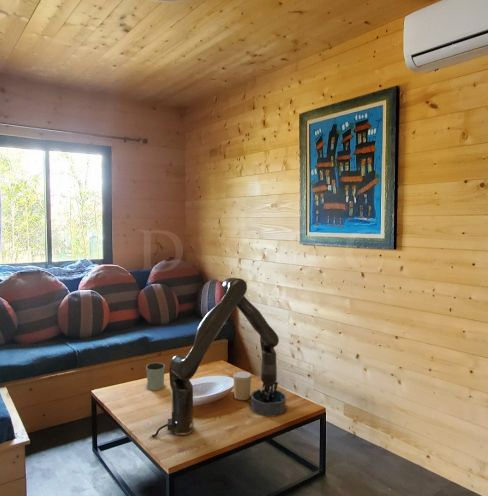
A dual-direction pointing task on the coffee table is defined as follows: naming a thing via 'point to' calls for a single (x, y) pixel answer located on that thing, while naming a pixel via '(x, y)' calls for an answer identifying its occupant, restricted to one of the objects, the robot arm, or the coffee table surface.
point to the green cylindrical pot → (155, 376)
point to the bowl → (268, 404)
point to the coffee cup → (242, 385)
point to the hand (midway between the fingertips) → (268, 405)
